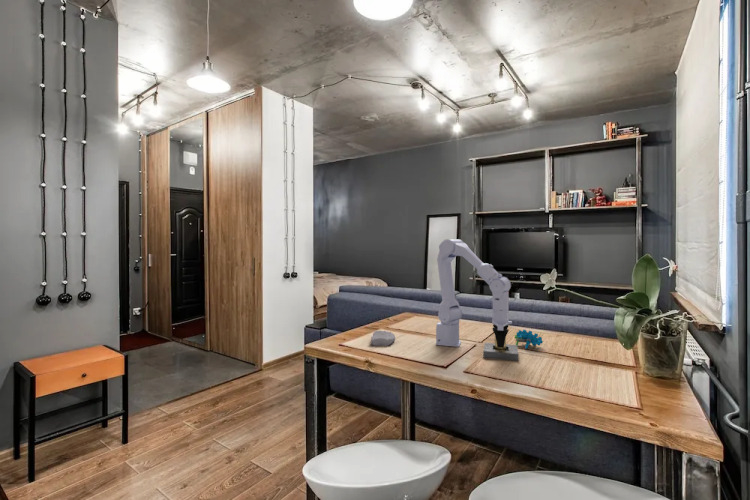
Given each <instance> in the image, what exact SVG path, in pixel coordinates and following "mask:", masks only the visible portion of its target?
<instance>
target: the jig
mask: <svg viewBox="0 0 750 500" xmlns="http://www.w3.org/2000/svg"><path fill="white" fill-rule="evenodd" d="M482 357H483V359H493V360H503V361H512V362H519V349H518V345H516V344H509V343H506V351H504V350H495V342H484V346H483V356H482Z"/></svg>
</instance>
